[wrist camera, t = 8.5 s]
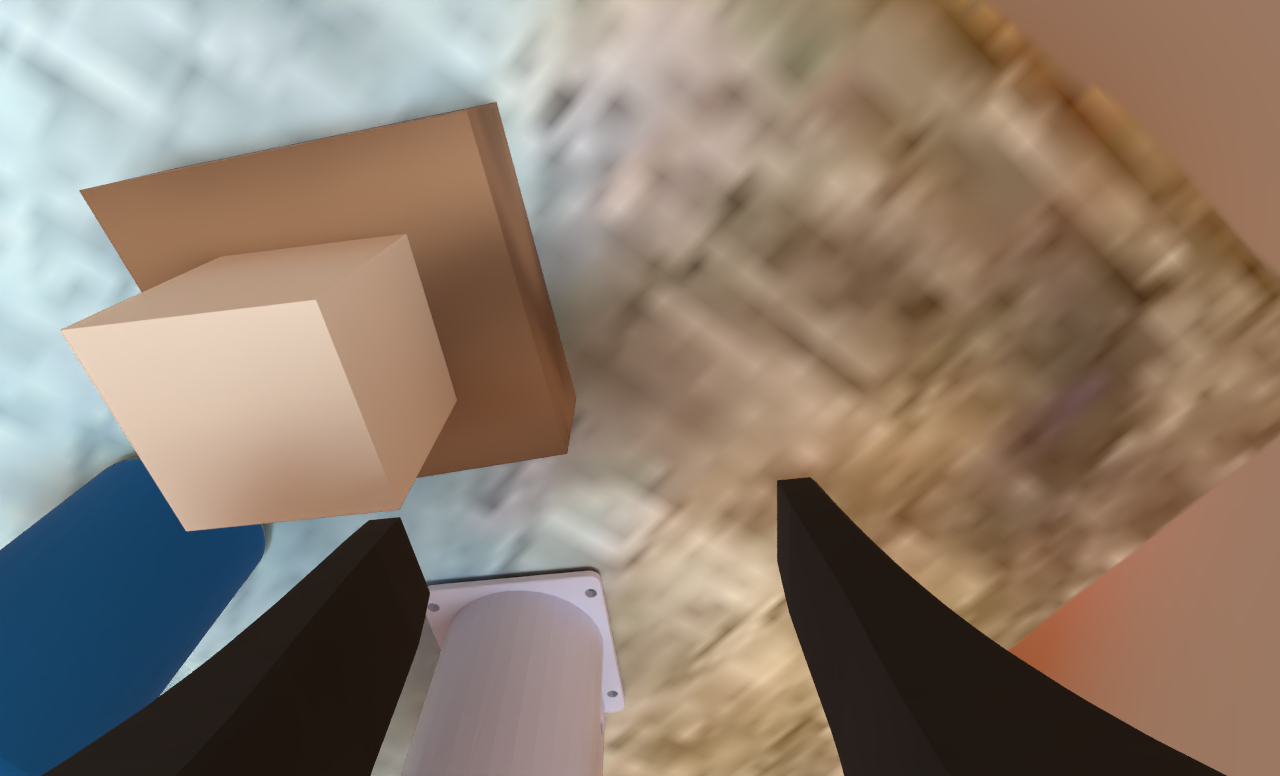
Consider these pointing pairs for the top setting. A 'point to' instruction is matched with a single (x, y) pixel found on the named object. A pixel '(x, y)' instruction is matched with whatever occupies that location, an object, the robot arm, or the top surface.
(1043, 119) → the top surface
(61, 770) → the robot arm
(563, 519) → the top surface
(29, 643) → the beverage can
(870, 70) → the top surface
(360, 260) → the cube
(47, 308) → the top surface
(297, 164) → the walnut box
